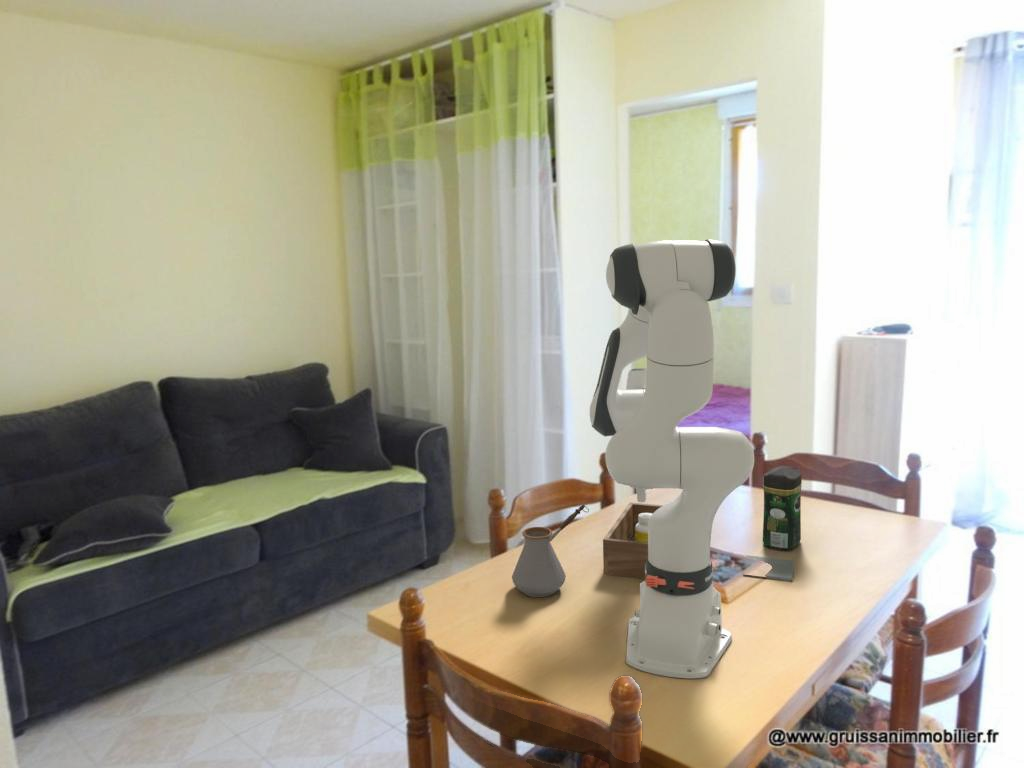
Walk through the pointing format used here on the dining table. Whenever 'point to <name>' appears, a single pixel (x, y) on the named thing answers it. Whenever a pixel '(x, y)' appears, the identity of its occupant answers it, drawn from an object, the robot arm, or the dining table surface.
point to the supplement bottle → (642, 527)
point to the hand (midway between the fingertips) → (646, 494)
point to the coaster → (777, 568)
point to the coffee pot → (540, 561)
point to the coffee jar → (782, 508)
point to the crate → (626, 544)
